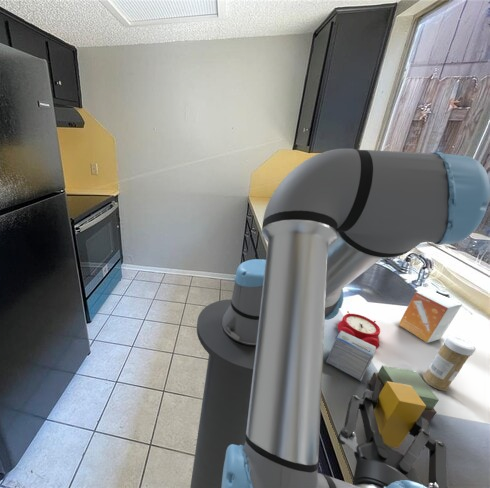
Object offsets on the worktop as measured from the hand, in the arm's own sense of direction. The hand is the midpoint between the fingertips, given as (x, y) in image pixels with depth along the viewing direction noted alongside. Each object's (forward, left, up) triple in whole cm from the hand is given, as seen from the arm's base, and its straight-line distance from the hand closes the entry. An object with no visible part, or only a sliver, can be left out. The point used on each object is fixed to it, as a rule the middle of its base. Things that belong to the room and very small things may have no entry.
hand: (395, 394), depth 51 cm
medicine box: (-14, -2, -9) cm, 16 cm away
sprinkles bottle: (-14, +19, -9) cm, 25 cm away
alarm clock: (-27, +6, -9) cm, 29 cm away
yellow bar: (+4, -3, -6) cm, 8 cm away
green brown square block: (-6, +6, -8) cm, 12 cm away
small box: (-34, +27, -9) cm, 44 cm away
